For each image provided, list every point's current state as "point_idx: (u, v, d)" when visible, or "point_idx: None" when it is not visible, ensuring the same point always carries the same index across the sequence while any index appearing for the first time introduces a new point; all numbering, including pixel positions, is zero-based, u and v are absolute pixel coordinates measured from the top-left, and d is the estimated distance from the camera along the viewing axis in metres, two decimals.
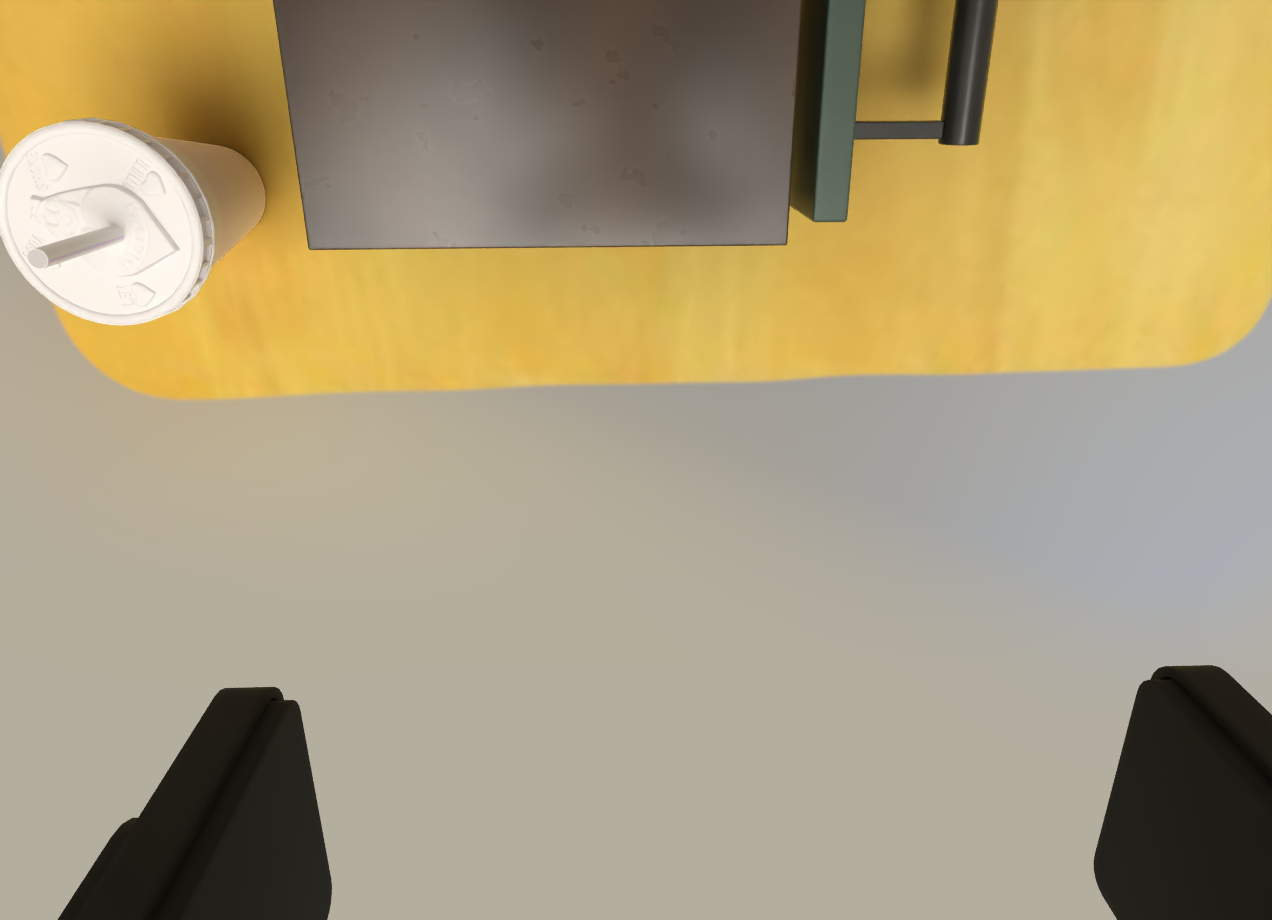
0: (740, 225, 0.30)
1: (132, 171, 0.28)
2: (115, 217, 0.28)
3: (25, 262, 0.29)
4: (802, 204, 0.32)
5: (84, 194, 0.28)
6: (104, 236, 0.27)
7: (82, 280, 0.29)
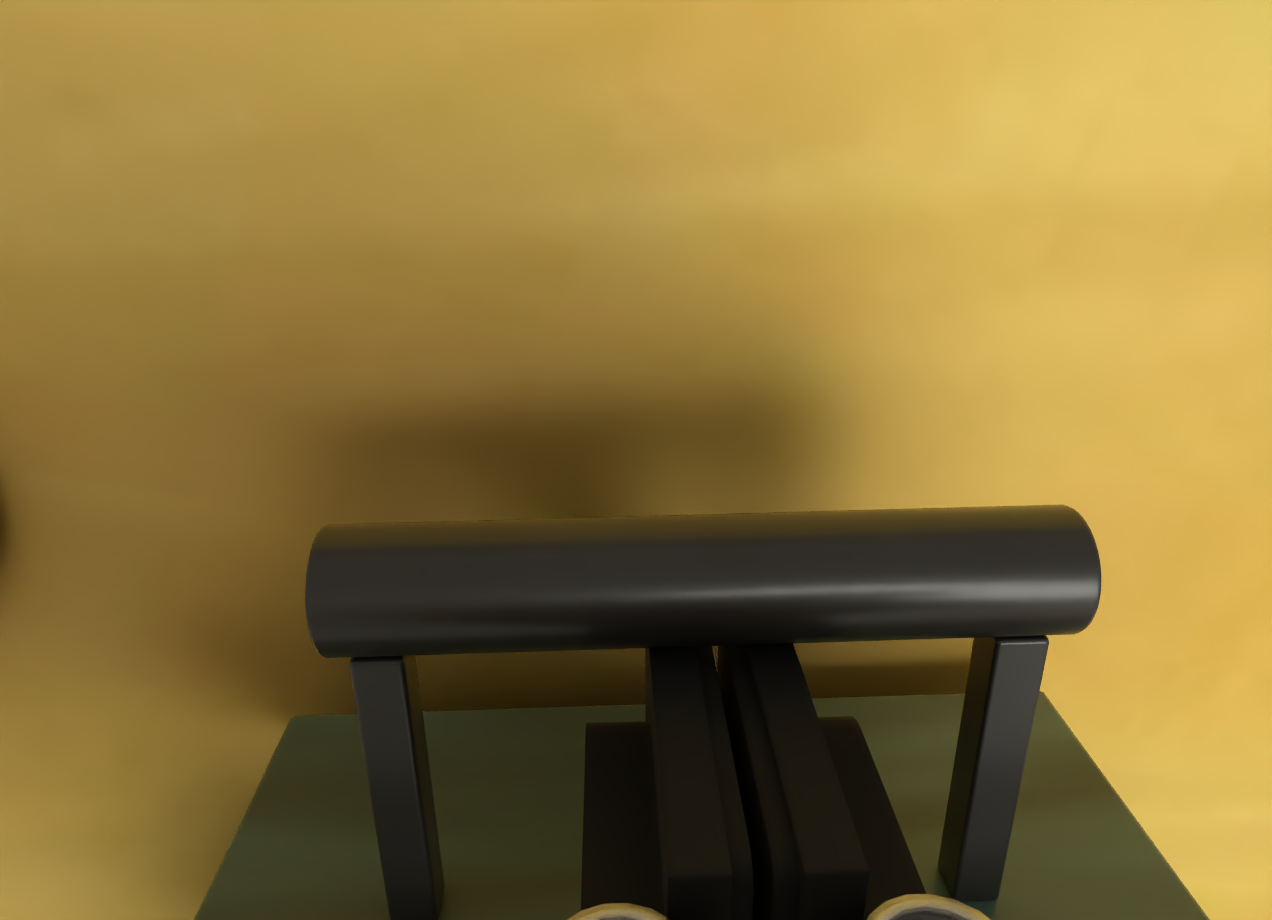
0: None
1: None
2: None
3: None
4: None
5: None
6: None
7: None
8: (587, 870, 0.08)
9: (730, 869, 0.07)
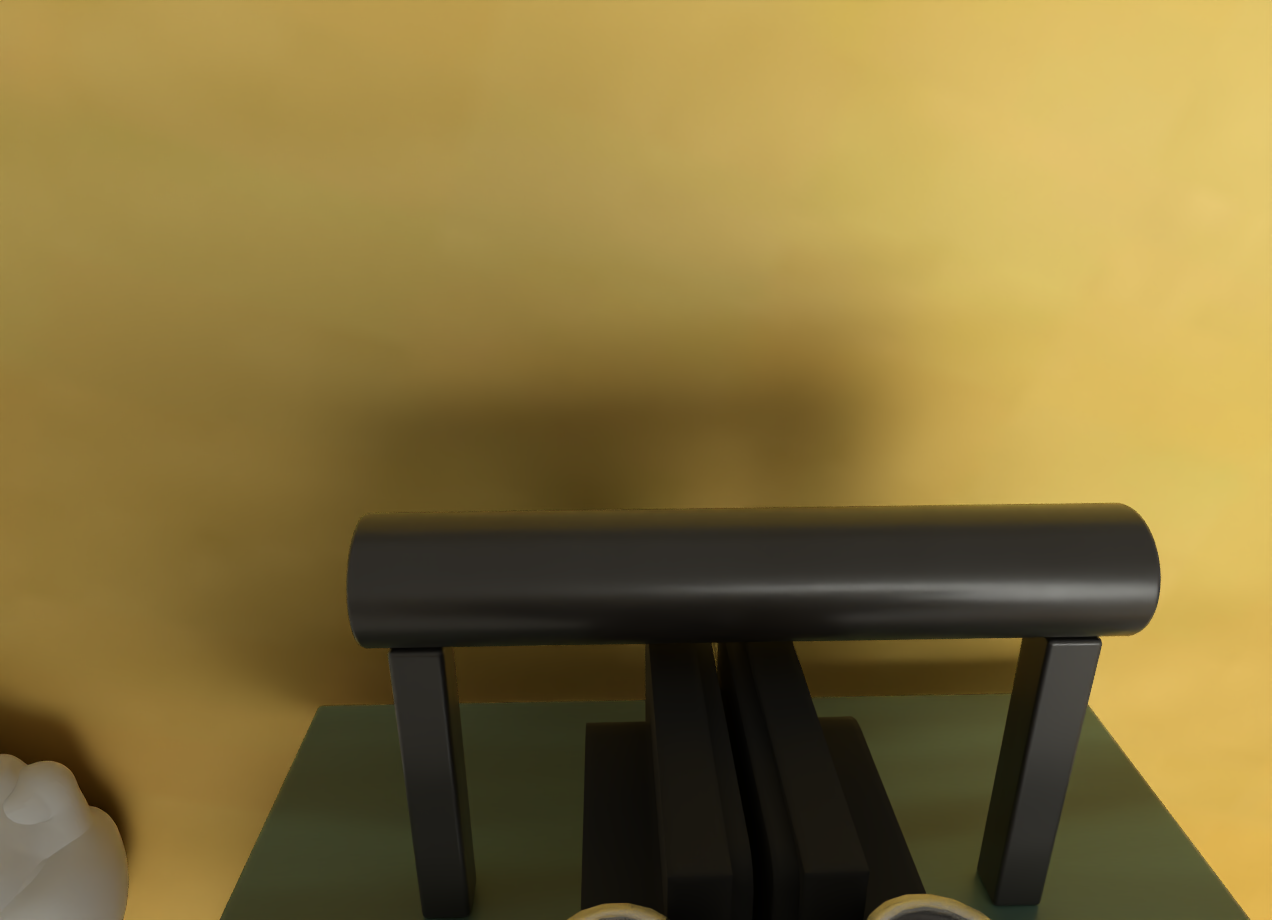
0: None
1: None
2: None
3: None
4: None
5: None
6: None
7: None
8: (587, 870, 0.08)
9: (730, 869, 0.07)
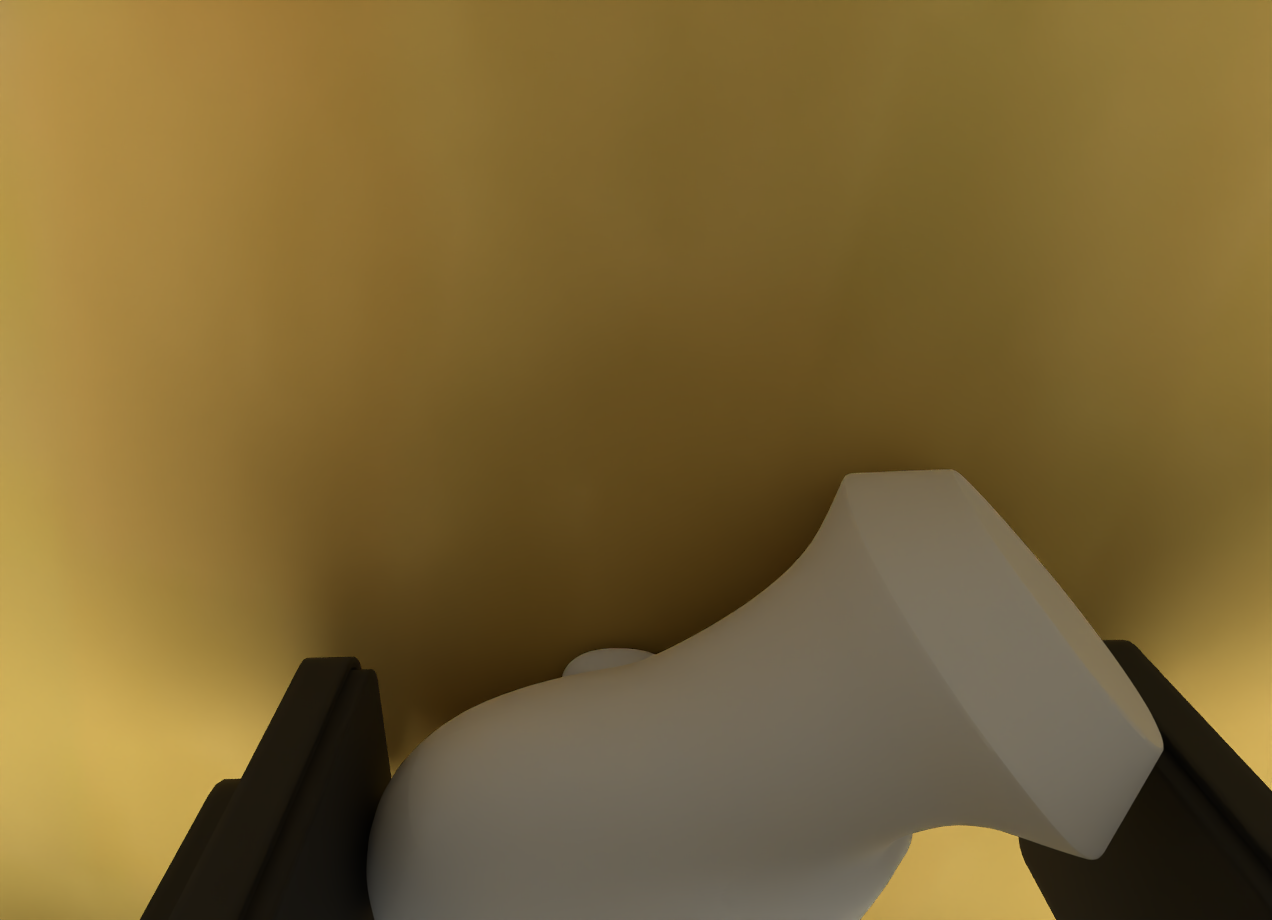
0: None
1: None
2: None
3: None
4: None
5: None
6: None
7: None
8: None
9: None
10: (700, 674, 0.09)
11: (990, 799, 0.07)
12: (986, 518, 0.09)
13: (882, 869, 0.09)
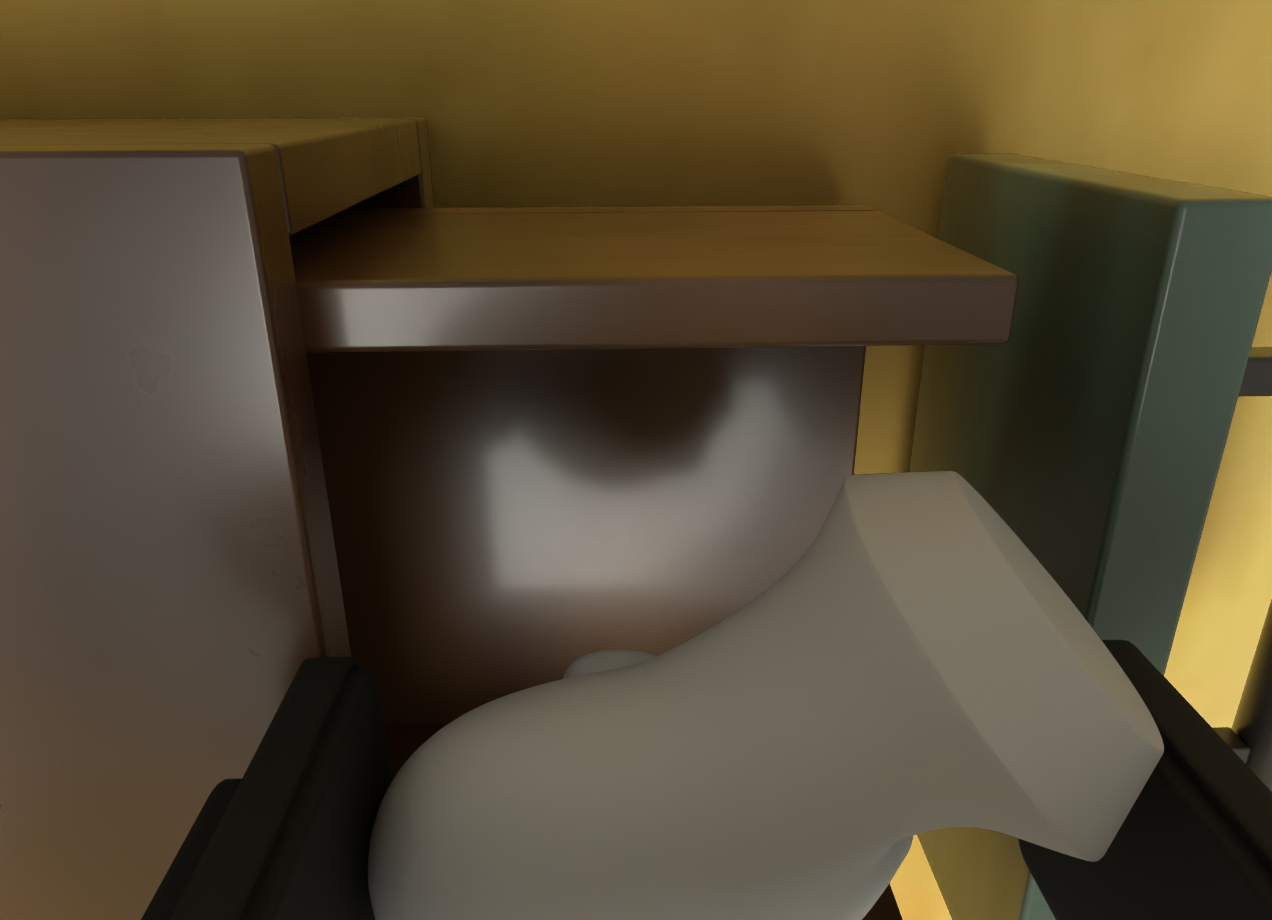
0: None
1: None
2: None
3: None
4: (958, 916, 0.16)
5: None
6: None
7: None
8: None
9: None
10: (701, 676, 0.09)
11: (991, 802, 0.07)
12: (987, 520, 0.09)
13: (883, 871, 0.09)
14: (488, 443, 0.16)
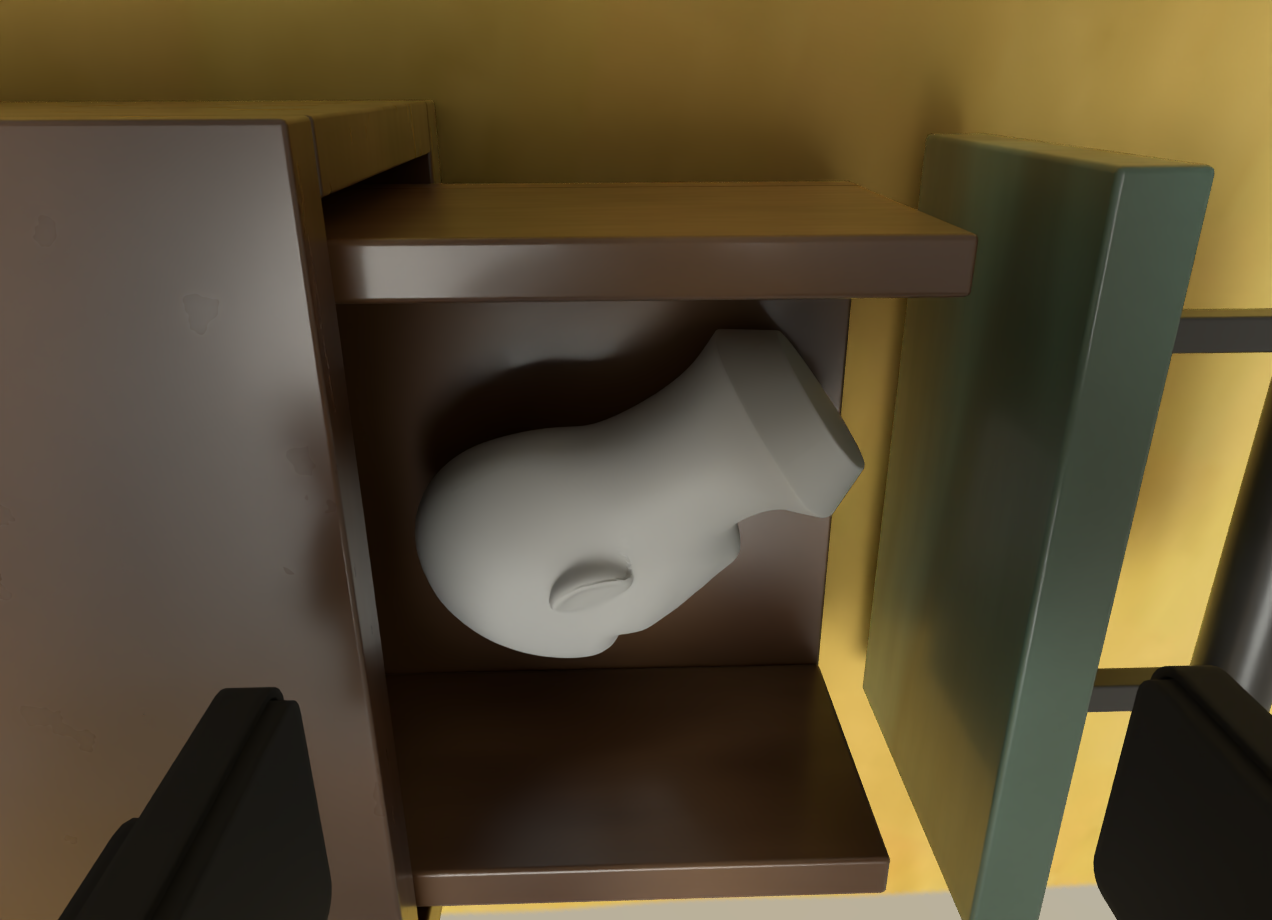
0: None
1: None
2: None
3: None
4: (934, 839, 0.17)
5: None
6: None
7: None
8: None
9: None
10: (621, 423, 0.15)
11: (760, 471, 0.14)
12: (789, 351, 0.15)
13: (713, 549, 0.16)
14: (499, 403, 0.17)
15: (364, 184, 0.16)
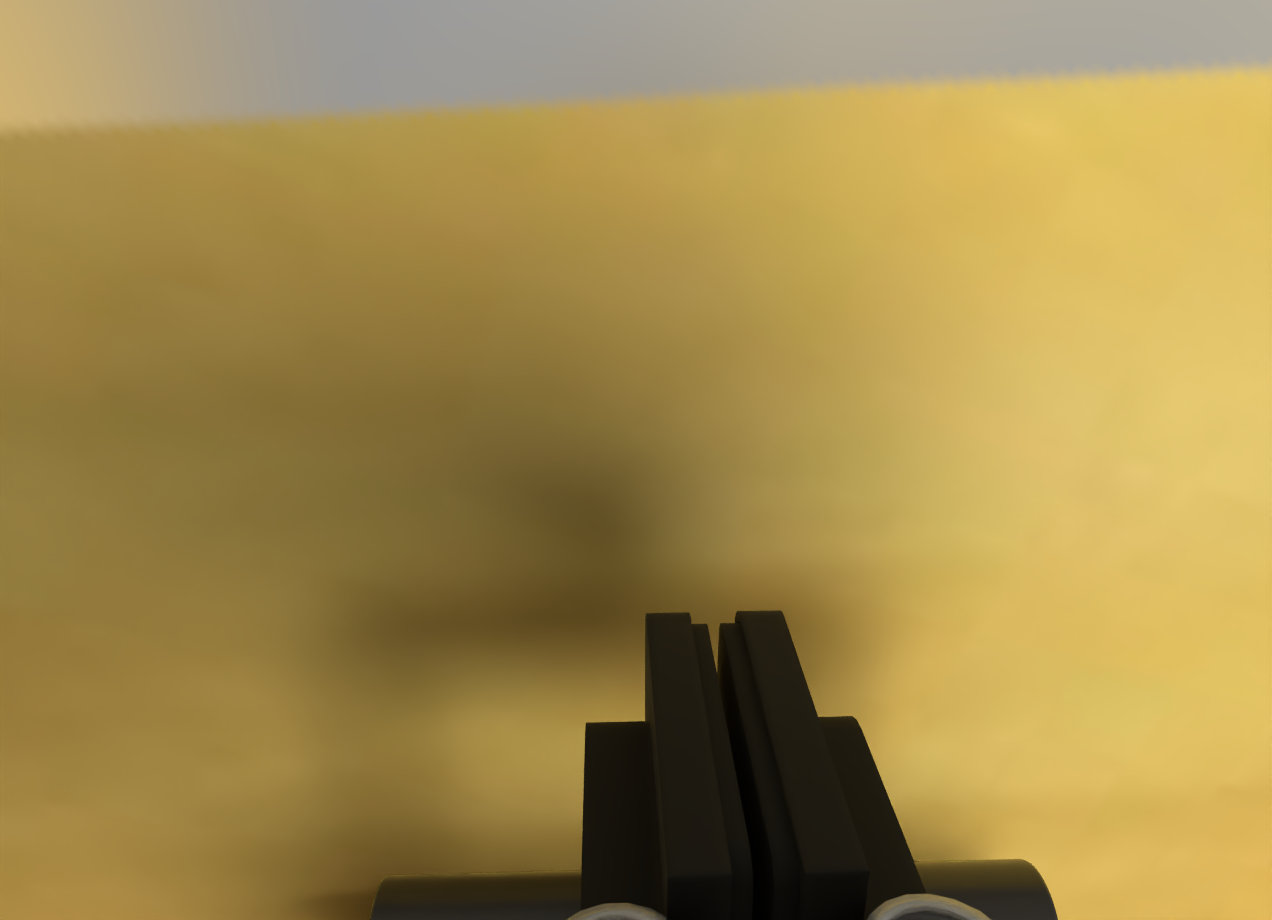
0: None
1: None
2: None
3: None
4: None
5: None
6: None
7: None
8: (587, 870, 0.08)
9: (730, 870, 0.07)
10: None
11: None
12: None
13: None
14: None
15: None
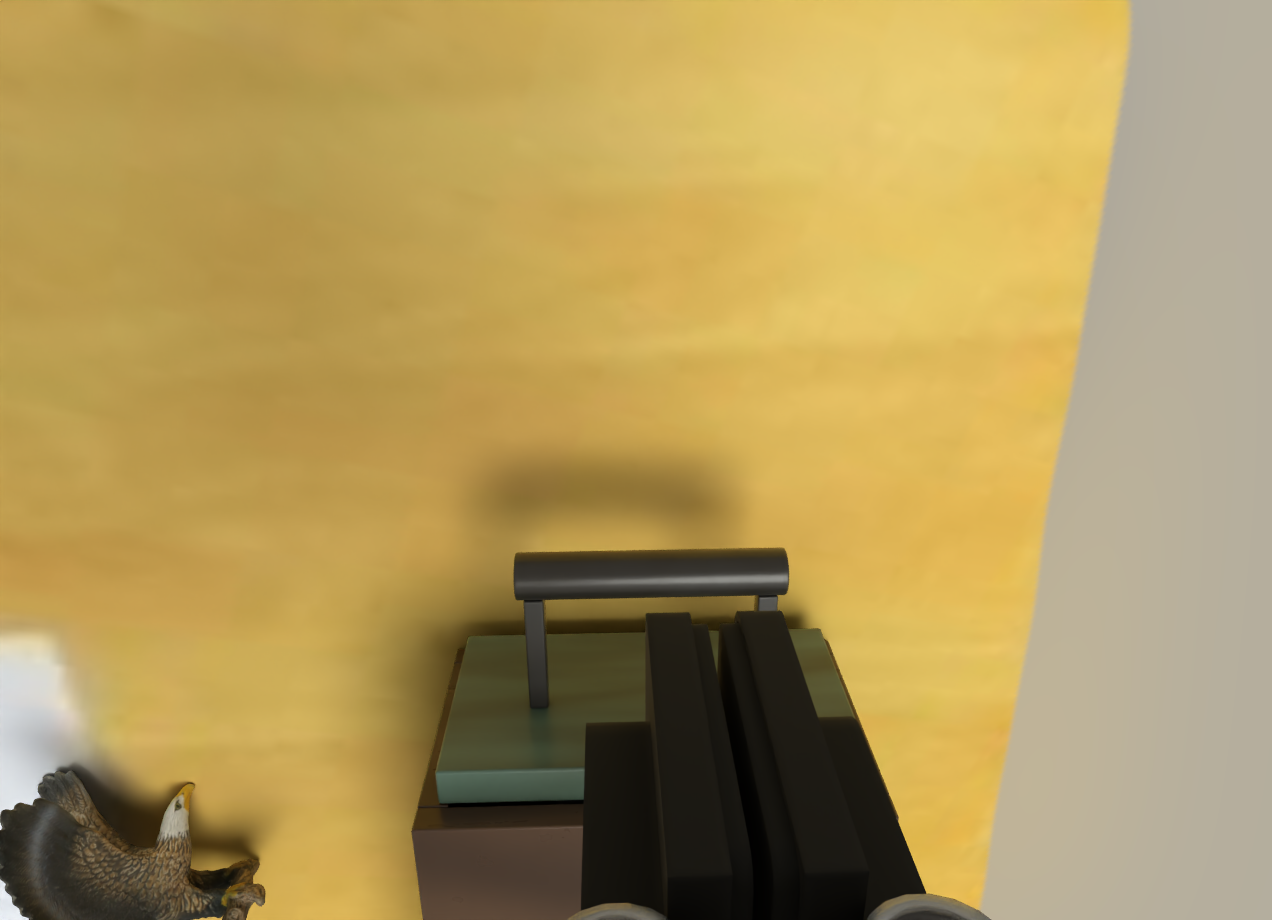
0: None
1: None
2: None
3: None
4: None
5: None
6: None
7: None
8: (587, 870, 0.08)
9: (730, 870, 0.07)
10: None
11: None
12: None
13: None
14: None
15: None
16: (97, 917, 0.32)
